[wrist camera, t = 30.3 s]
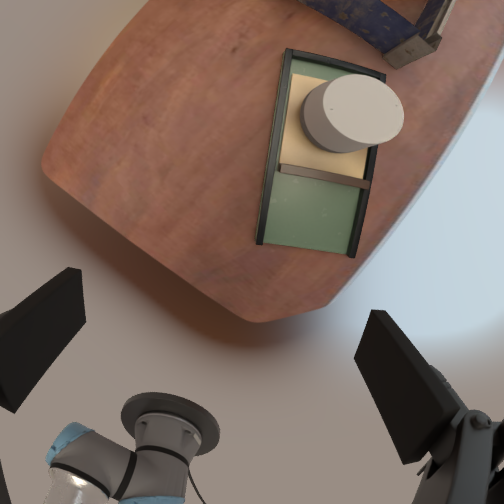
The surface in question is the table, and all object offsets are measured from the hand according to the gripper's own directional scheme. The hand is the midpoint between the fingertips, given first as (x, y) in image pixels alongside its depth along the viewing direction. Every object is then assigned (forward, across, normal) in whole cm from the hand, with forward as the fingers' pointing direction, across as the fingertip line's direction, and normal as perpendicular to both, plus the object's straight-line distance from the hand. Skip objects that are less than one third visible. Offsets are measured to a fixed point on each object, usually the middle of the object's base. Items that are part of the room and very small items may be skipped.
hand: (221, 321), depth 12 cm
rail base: (+31, +10, +10) cm, 34 cm away
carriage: (+30, +10, +13) cm, 34 cm away
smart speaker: (+29, +10, +14) cm, 34 cm away
